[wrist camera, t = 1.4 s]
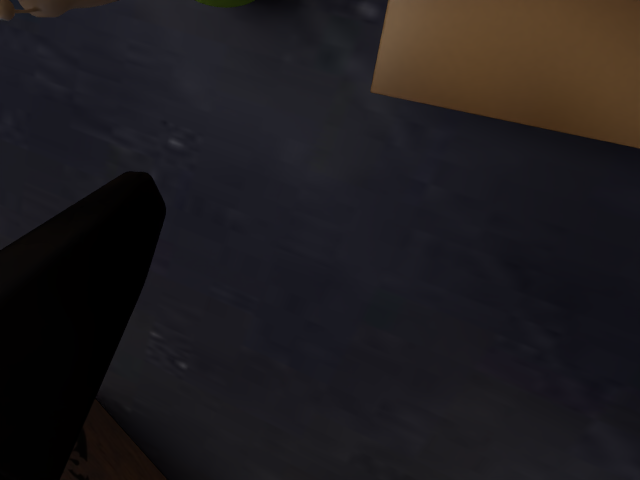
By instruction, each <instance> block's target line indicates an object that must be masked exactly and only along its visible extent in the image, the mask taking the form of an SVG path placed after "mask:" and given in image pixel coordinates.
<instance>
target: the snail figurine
mask: <svg viewBox="0 0 640 480" xmlns="http://www.w3.org/2000/svg"><path fill="white" fill-rule="evenodd" d="M18 1H19V3H20V4H21V5H22V7H23V8H24V9H25V10H15V9H14V6H13V4H12V3H11V2H10V1H9V0H0V20H3V21H9V20H11V19H12V18H13V17H14V14H15V13H30V14H32V15H34V16H36V17H58V16H60V15H62V14H63V13H65V12H66V11H68V10H70V9H74V8H89V7H95V6H100V5H104V4H108V3H112V2H115V1H118V0H18ZM195 1H198V2H200V3H203V4H206V5H209V6H214V7H225V8H228V7H237V6H242V5H246V4H248V3H251V2H253V1H255V0H195Z"/></svg>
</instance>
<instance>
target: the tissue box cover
mask: <svg viewBox="0 0 640 480" xmlns="http://www.w3.org/2000/svg"><path fill="white" fill-rule="evenodd" d="M60 480H167V479H166V478H165V477H164V476H163V474H162V473H161V472H160V471H159V470H158V469H157V468H156V467H155V465H154V464H153V463H152V462H151V461H150V460H149V459H148V458H147V456H146V455H145V454H144V453H143V452H142V451H141V450H140V449H139V447H138V446H137V445H136V444H135V443H134V442H133V441H132V440H131V438H130V437H129V436H128V435H127V434H126V433H125V432H124V431H123V429H122V428H121V427H120V426H119V425H118V424H117V423H116V422H115V420H114V419H113V418H112V417H111V416H110V415H109V414H108V413H107V411H106V410H105V409H104V408H103V407H102V406H101V405H100V404H99V402H98V401H97V400H96V399H95V400H94V402H93V404H92V407H91V409H90V411H89V414H88V416H87V418H86V420H85V423H84V425H83V427H82V430H81V432H80V434H79V437H78V439H77V441H76V444H75V446H74V448H73V451H72V453H71V455H70V457H69V460H68V462H67V464H66V467H65V469H64V471H63V474H62V476H61V478H60Z"/></svg>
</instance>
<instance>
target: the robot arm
mask: <svg viewBox="0 0 640 480" xmlns="http://www.w3.org/2000/svg"><path fill="white" fill-rule="evenodd" d="M165 215H166V206H165V203H164V200H163V198H162V196H161V194H160V192H159V190H158V188H157V186H156V184H155V182H154V180H153V178H152V177H151V176H150V175H149V174H148V173H145V172H133V171H129V172H125V173H123V174H122V175H120V176H118V177H117V178H115V179H114V180H112V181H110V182H109V183H107V184H106V185H104V186H102V187H101V188H99V189H98V190H96V191H94V192H93V193H91V194H90V195H88V196H86V197H85V198H83V199H82V200H80V201H78V202H77V203H75V204H74V205H72V206H70V207H69V208H67V209H66V210H64V211H62V212H61V213H59V214H58V215H56V216H54V217H53V218H51V219H50V220H48V221H46V222H45V223H43V224H42V225H40V226H38V227H37V228H35V229H34V230H32V231H30V232H29V233H27V234H26V235H24V236H22V237H21V238H19V239H18V240H16V241H14V242H13V243H11V244H10V245H8V246H6V247H5V248H3V249H2V250H0V480H60V478H61V476H62V474H63V471H64V469H65V467H66V464H67V462H68V460H69V457H70V455H71V453H72V451H73V448H74V446H75V444H76V441H77V439H78V437H79V434H80V432H81V430H82V427H83V425H84V423H85V420H86V418H87V416H88V414H89V411H90V409H91V407H92V404H93V402H94V400H95V397H96V395H97V393H98V390H99V388H100V386H101V383H102V381H103V379H104V377H105V374H106V372H107V370H108V367H109V365H110V363H111V360H112V358H113V356H114V353H115V351H116V349H117V346H118V344H119V342H120V340H121V337H122V335H123V333H124V330H125V328H126V326H127V323H128V321H129V319H130V316H131V314H132V312H133V309H134V307H135V305H136V303H137V300H138V298H139V296H140V293H141V291H142V288H143V286H144V283H145V280H146V277H147V274H148V271H149V268H150V265H151V261H152V258H153V255H154V252H155V248H156V245H157V242H158V239H159V235H160V232H161V229H162V226H163V222H164V219H165Z"/></svg>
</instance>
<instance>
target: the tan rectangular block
mask: <svg viewBox="0 0 640 480" xmlns="http://www.w3.org/2000/svg"><path fill="white" fill-rule="evenodd" d="M370 91H371V92H372V93H376V94H381V95H385V96H390V97H395V98H400V99H405V100H409V101H414V102H419V103H424V104H429V105H433V106H438V107H443V108H448V109H453V110H457V111H462V112H467V113H472V114H476V115H481V116H486V117H491V118H496V119H500V120H505V121H510V122H515V123H520V124H524V125H529V126H534V127H539V128H544V129H548V130H553V131H558V132H563V133H568V134H572V135H577V136H582V137H587V138H592V139H596V140H601V141H606V142H611V143H615V144H620V145H625V146H630V147H635V148H639V149H640V0H388V5H387V10H386V15H385V20H384V25H383V30H382V35H381V40H380V45H379V50H378V55H377V60H376V65H375V70H374V75H373V80H372V85H371V90H370Z"/></svg>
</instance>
